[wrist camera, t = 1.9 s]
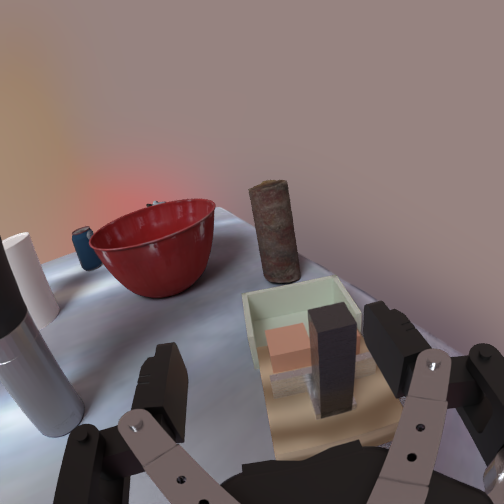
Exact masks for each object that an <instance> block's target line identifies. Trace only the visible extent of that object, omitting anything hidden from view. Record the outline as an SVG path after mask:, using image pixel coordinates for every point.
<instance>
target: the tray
mask: <svg viewBox="0 0 504 504" xmlns="http://www.w3.org/2000/svg"><path fill="white" fill-rule="evenodd" d="M242 300H243V307H244V315H245V322H246V329H247V336H248V341H249V346H250V350H251V354H252V359H253V363H254V368H255V369H259V368H260V367H259V361H258V355H257V349H256V348H257V347H262V346H267V341H266V335H265V330H270V329H275V328H280V327H285V326H290V325H294V324H299V323H303V324H304V326H305V329H306V331H307V334H308V337H309V324H308V312H307V310H308V309H313V308H317V307H322V306H326V305H331V304H335V303H340V302H344V303H345V304H346V306H347V308H348V309H349V311H350V312H351V314H352V316H353V317H354V319H355V321H356V322H357V328H358V330H359V331H360V333H361V317H362V313H361V311H360V310H359V308H358V307H357V305H356V304H355V302H354V301H353V299H352V298H351V296H350V295H349V293H348V292H347V290H346V289H345V287H344V286H343V284H342V283H341V281H340V280H339V278H338V277H337V276H336V275H332V276H328V277H323V278H318V279H313V280H308V281H303V282H299V283H294V284H289V285H284V286H279V287H274V288H268V289H263V290H258V291H253V292H247V293H242Z"/></svg>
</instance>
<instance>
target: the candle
mask: <svg viewBox="0 0 504 504" xmlns="http://www.w3.org/2000/svg"><path fill="white" fill-rule="evenodd" d="M249 195H250V200H251V205H252V211H253V216H254V222H255V228H256V234H257V239H258V245H259V251H260V257H261V262H262V268H263V274H264V277H265V278H266V279H267V280H268V281H269V282H278V283H285V282H288V283H290V282H292V281H295V280H299V279H300V267H299V259H298V252H297V245H296V239H295V233H294V225H293V218H292V211H291V205H290V198H289V192H288V184H287V181H285V180H278V181H276V180H268V181H263V182H262V183H261V184H260V185H257V186H254V187H253V188H251V189H249Z"/></svg>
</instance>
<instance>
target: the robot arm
mask: <svg viewBox="0 0 504 504" xmlns="http://www.w3.org/2000/svg"><path fill="white" fill-rule="evenodd" d="M363 336H364V341H365V344H366V347H367V348H368V350H369V352H370V354H371V355H372V357H373V359H374V360H375V362H376V364H377V366H378V367H379V369H380V371H381V373H382V375H383V376H384V378H385V380H386V382H387V383H388V385H389V387H390V389H391V391H392V392H393V394H394V396H395V398H396V399H398V398H400V397H403V396H405V397H406V400H405V404H404V407H403V410H402V414H401V417H400V420H399V423H398V426H397V429H396V432H395V435H394V438H393V441H392V444H391V446H390V449H386V448H381V447H375V446H362V445H361V443H360V440H359V439H358V440H355V441H351V442H348V443H344V444H341V445H337V446H333V447H330V448H328V449H326V450H324V451H322V452H320V453H318V454H316V455H314V456H312V457H310V458H307V459H305V460H300V461H288V460H269V461H263V462H256V463H249V464H242V473H239V474H237V475H234V476H232V477H231V478H229V479H227V480H226V481H224V482H223V483H222V484H220V485H219V484H218V483H217V482H216V481H215V480H214V479H213V478H212V477H211V476H210V475H209V474H208V473H207V472H206V471H205V470H204V469H203V468H202V467H201V466H200V465H199V464H198V463H197V462H196V461H195V460H194V459H193V458H192V457H191V456H190V455H189V454H188V453H187V452H186V451H185V450H184V449H183V448H182V447H181V446H180V445H179V444H176V443H183V442H184V437H185V421H186V406H187V393H188V374H187V370H186V367H185V364H184V362H183V359H182V357H181V354H180V352H179V349H178V347H177V345H176V343H175V342H172V343H165V344H158V345H157V347H156V352H155V356H154V357H149V358H147V360H146V361H145V362H144V364H143V365H142V366H141V370H140V374H139V378H138V382H137V383H138V385H137V386H136V391H135V395H134V399H133V403H132V408H131V411H129V412H127V413H125V414H124V415H123V416H122V417H121V418H120V420H119V422H118V425H117V426H114V427H111V428H107V429H104V430H100V431H99V430H98V429H97V428H96V427H95V426H94V425H91V424H82V425H80V426H78V427H76V426H77V425H78V424H79V422H80V421H81V419H82V417H83V413H84V405H83V402H82V400H81V399H80V397H79V396H78V394H77V393H76V391H75V390H74V388H73V387H72V385H71V384H70V382H69V381H68V379H67V377H66V376H65V374H64V373H63V371H62V370H61V368H60V366H59V365H58V363H57V361H56V360H55V358H54V356H53V355H52V353H51V351H50V350H49V348H48V346H47V344H46V343H45V341H44V339H43V337H42V335H41V334H40V332H39V330H38V328H37V326H36V325H35V323H34V321H33V319H32V317H31V315H30V313H29V311H28V309H27V306H26V304H25V302H24V300H23V298H22V296H21V293H20V290H19V287H18V285H17V282H16V279H15V277H14V274H13V272H12V270H11V267H10V264H9V262H8V259H7V256H6V253H5V250H4V247H3V243H2V240H1V237H0V381H1V383H2V384H3V386H4V387H5V389H6V390H7V391H8V393H9V394H10V395H11V397H12V398H13V399H14V401H15V402H16V403H17V405H18V406H19V407H20V408H21V410H22V411H23V412H24V413H25V415H26V416H27V417H28V418H29V420H30V421H31V422H32V423H33V424H34V425H35V427H36V428H37V429H38V430H39V431H40V432H41V433H42V434H43V435H45V436H48V437H59V436H63V435H65V434H67V433H69V432H70V431H72V432H71V433H70V435H69V437H68V441H67V445H66V449H65V453H64V456H63V460H62V465H61V469H60V473H59V477H58V482H57V487H56V491H55V496H54V501H53V504H129V489H130V476H131V475H135V474H138V473H141V472H145V471H146V473H147V474H148V475H149V477H150V478H151V479H152V481H153V482H154V483H155V484H156V486H157V487H158V488H159V489H160V491H161V492H162V493H163V494H164V496H165V497H166V498H167V499H168V501H169V502H170V503H171V504H504V357H503V356H502V355H501V353H500V352H499V351H498V350H497V349H496V348H495V347H494V346H492V345H490V344H485V343H481V344H477V345H474V346H473V347H472V348H471V349H470V352H469V355H467V356H458V357H450V356H449V355H448V354H447V353H446V352H444V351H442V350H440V349H432V348H431V346H430V345H429V344H428V343H427V341H426V340H425V339H424V338H423V336H422V335H421V334H420V333H419V331H418V330H417V329H415V326H414V325H413V324H412V323H410V320H409V319H408V318H407V317H406V315H404V314H403V313H401V312H400V311H398V310H396V309H393V310H389V308H388V307H387V306H386V305H385V303H384V302H383V301H378V302H374V303H370V304H366V305H365V306H364V327H363ZM450 408H456V410H457V412H458V413H459V415H460V417H461V419H462V420H463V422H464V424H465V426H466V428H467V429H468V431H469V433H470V435H471V437H472V439H473V440H474V442H475V444H476V446H477V448H478V450H479V452H480V454H481V456H482V458H483V460H484V462H485V464H486V465H487V468H486V469H485V472H484V475H483V482H484V485H485V486H484V487H485V492H483V491H482V490H480V489H477V488H475V487H472V486H470V485H467V484H465V483H462V482H460V481H457V480H455V479H453V478H450V477H448V476H446V475H443V474H441V473H439V472H436V471H434V470H433V468H434V465H435V461H436V457H437V453H438V449H439V445H440V440H441V436H442V431H443V427H444V422H445V416H446V411H447V409H450ZM75 427H76V428H75ZM74 428H75V429H74Z"/></svg>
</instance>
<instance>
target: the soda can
mask: <svg viewBox="0 0 504 504" xmlns="http://www.w3.org/2000/svg"><path fill="white" fill-rule="evenodd" d="M92 235H93V231H92V230H91V229H90V228H89V226H86V227H82V228H79V229H77V230H75V231H74V232H73V233H72V241H73V244H74V247H75V250H76V253H77V255H78V258H79V261H80V264H81V266H82V268H83V269H84V270H86V271H92V270H95V269H97V268H99V267H100V266H101V264H102V261H101V260H100V258H99V257H98V256H97V254H96V252H95V251H94V249H93V248H91V247H90V245H89V240H90V238H91V237H92Z"/></svg>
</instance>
